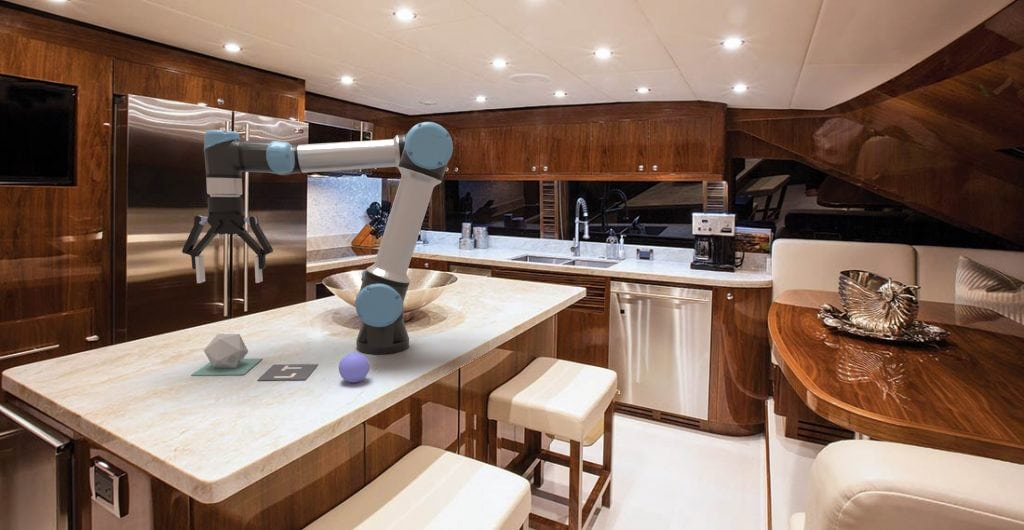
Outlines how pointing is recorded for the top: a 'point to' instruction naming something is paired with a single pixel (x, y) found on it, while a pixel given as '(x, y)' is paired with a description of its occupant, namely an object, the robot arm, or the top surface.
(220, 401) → the top surface
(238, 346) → the die
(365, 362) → the sphere
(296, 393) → the top surface
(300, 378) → the tile
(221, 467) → the top surface
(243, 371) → the mat
